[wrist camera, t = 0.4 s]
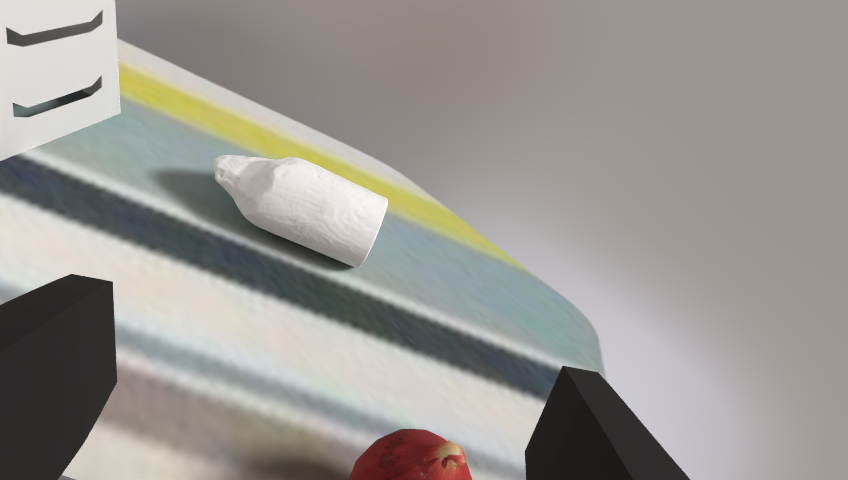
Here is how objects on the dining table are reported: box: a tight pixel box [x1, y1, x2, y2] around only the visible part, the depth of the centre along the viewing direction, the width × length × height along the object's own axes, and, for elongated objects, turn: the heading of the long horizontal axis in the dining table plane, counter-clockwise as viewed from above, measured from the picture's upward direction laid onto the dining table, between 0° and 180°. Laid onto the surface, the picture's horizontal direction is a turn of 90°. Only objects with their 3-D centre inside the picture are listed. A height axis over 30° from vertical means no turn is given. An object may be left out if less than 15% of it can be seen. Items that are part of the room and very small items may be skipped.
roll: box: [213, 155, 388, 268], centre depth 40 cm, size 6×12×6 cm, turn 84°
